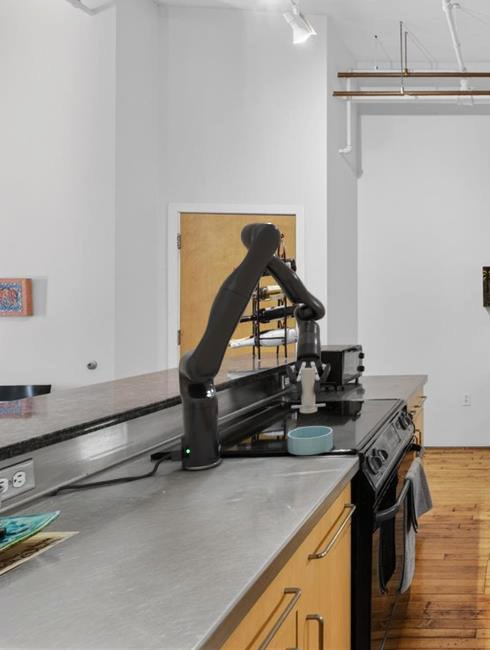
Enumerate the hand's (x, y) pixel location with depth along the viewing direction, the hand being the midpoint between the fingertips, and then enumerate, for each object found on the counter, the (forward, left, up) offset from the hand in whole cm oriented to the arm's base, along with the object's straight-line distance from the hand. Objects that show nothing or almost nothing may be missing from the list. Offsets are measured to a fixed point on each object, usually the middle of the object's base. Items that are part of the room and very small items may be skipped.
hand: (308, 393), depth 141 cm
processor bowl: (0, +5, -19) cm, 19 cm away
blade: (0, +2, -6) cm, 6 cm away
